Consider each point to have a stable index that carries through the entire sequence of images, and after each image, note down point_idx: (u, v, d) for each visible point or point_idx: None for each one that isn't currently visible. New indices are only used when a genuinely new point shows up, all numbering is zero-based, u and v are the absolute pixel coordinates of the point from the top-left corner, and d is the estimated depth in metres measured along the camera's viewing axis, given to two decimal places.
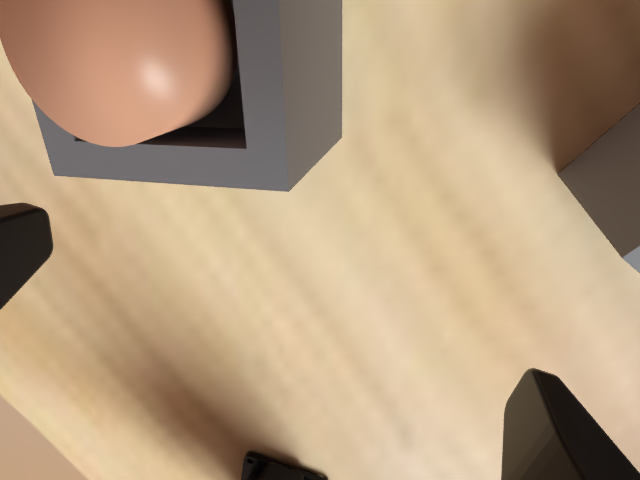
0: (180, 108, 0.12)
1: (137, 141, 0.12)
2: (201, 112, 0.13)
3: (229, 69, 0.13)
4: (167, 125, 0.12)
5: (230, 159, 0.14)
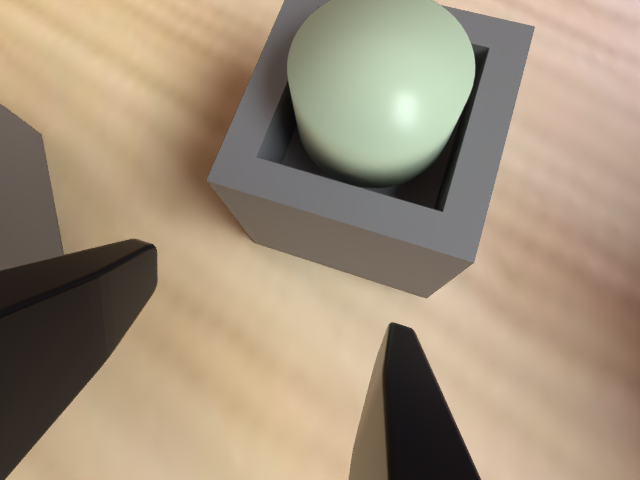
0: None
1: None
2: None
3: None
4: None
5: None
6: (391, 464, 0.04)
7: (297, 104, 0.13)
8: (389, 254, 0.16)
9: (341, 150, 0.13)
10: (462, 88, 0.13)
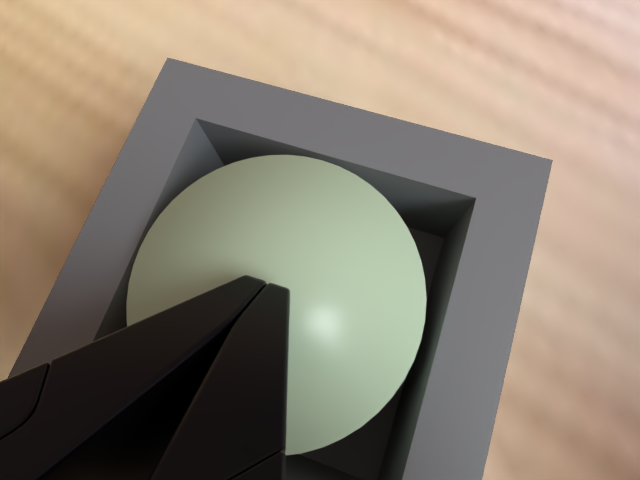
0: None
1: None
2: None
3: None
4: None
5: None
6: (201, 393, 0.05)
7: None
8: None
9: None
10: (404, 344, 0.08)
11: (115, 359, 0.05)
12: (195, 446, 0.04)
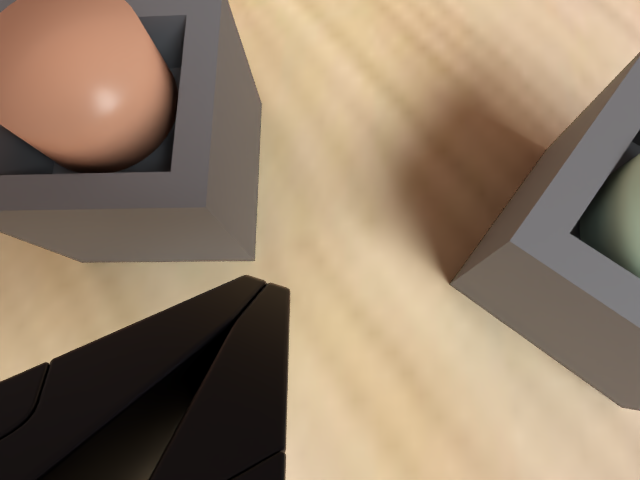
0: (121, 105, 0.13)
1: (70, 126, 0.13)
2: (134, 143, 0.15)
3: (166, 120, 0.16)
4: (104, 118, 0.13)
5: (152, 181, 0.15)
6: (201, 393, 0.05)
7: (636, 224, 0.13)
8: None
9: None
10: None
11: (115, 359, 0.05)
12: (195, 446, 0.04)
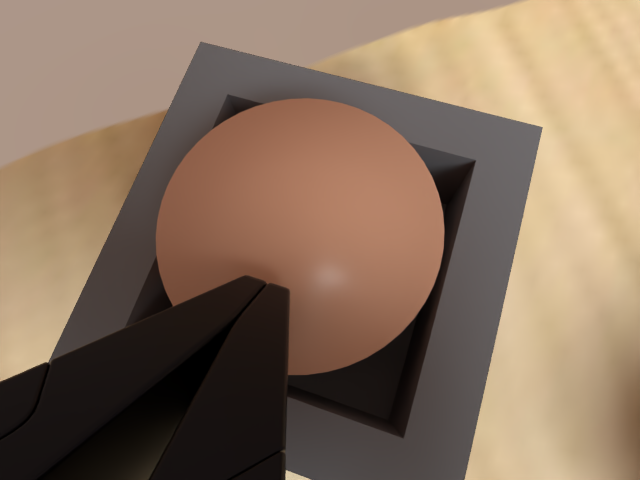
0: None
1: (296, 372, 0.08)
2: None
3: None
4: None
5: (369, 446, 0.09)
6: (201, 393, 0.05)
7: None
8: None
9: None
10: None
11: (115, 359, 0.05)
12: (195, 446, 0.04)
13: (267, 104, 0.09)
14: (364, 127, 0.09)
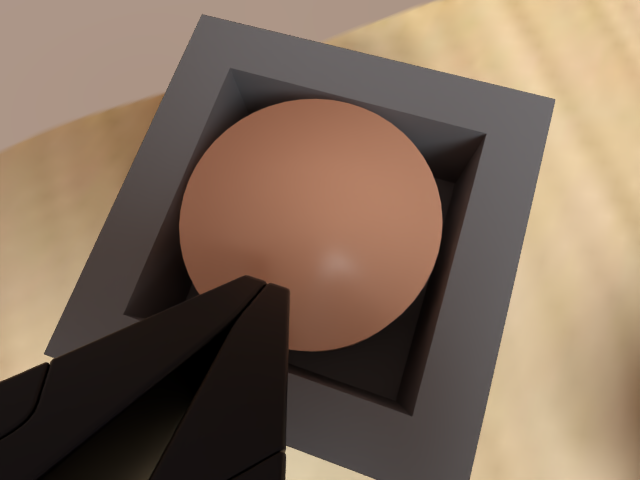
0: (384, 327, 0.09)
1: (308, 348, 0.09)
2: (358, 342, 0.10)
3: None
4: (356, 342, 0.09)
5: (378, 423, 0.09)
6: (201, 393, 0.05)
7: None
8: None
9: None
10: None
11: (115, 359, 0.05)
12: (195, 446, 0.04)
13: (279, 104, 0.10)
14: (368, 125, 0.10)
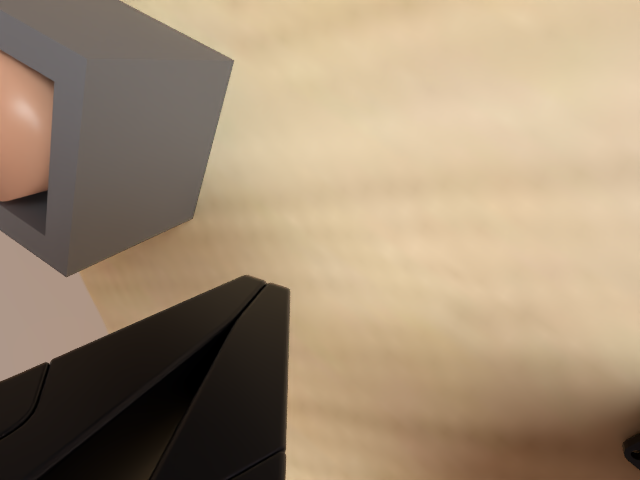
0: (16, 92, 0.15)
1: (26, 139, 0.15)
2: None
3: None
4: (25, 110, 0.15)
5: (60, 103, 0.15)
6: (200, 394, 0.05)
7: None
8: None
9: None
10: None
11: (115, 359, 0.05)
12: (195, 446, 0.04)
13: None
14: None
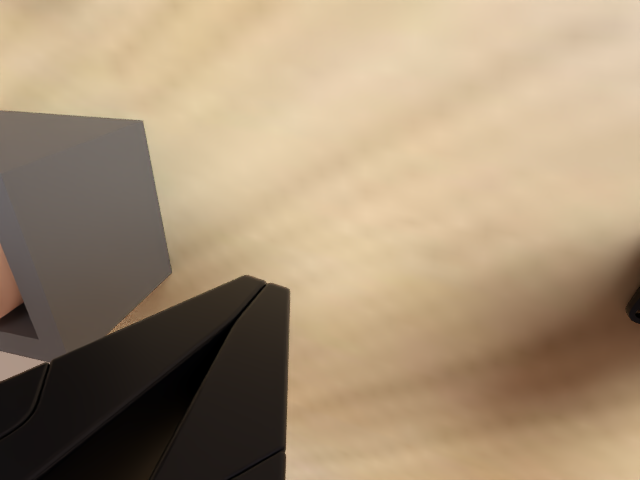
0: None
1: None
2: None
3: None
4: None
5: None
6: (201, 393, 0.05)
7: None
8: None
9: None
10: None
11: (115, 359, 0.05)
12: (195, 446, 0.04)
13: None
14: None
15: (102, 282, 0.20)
